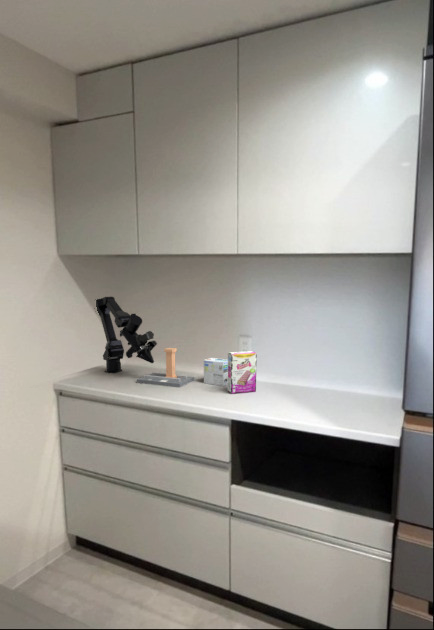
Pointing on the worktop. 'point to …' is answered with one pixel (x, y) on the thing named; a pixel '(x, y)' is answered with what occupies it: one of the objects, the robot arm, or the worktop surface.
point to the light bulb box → (216, 371)
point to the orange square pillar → (170, 362)
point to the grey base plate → (165, 380)
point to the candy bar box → (242, 372)
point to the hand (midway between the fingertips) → (153, 362)
